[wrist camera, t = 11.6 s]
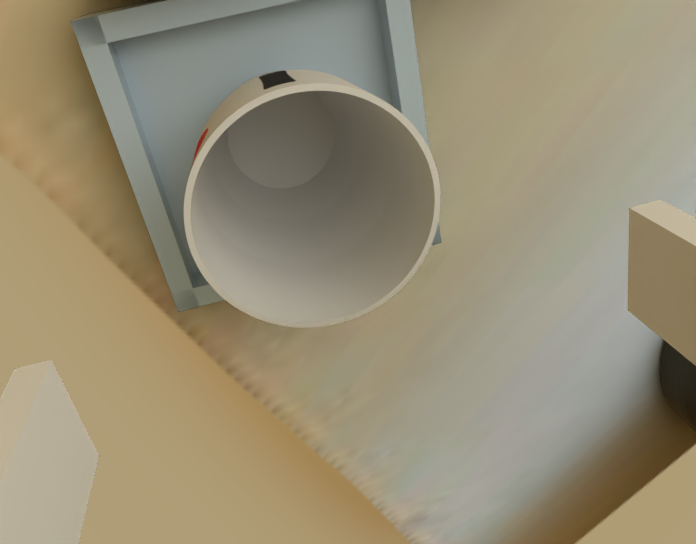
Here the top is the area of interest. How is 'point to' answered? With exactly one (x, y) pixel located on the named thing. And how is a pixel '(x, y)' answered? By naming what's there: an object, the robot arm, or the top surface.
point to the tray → (226, 87)
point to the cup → (309, 199)
